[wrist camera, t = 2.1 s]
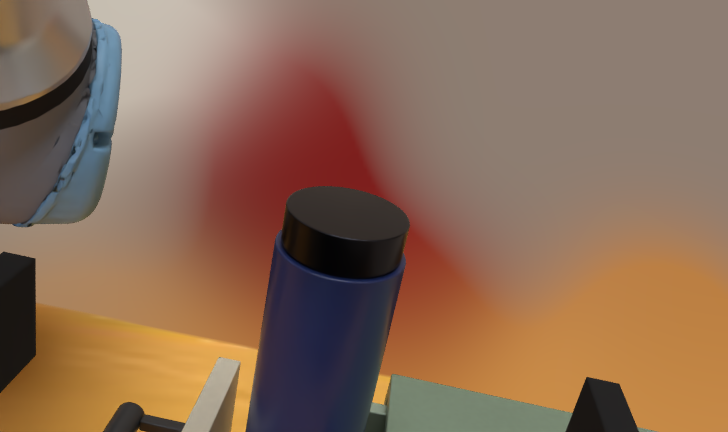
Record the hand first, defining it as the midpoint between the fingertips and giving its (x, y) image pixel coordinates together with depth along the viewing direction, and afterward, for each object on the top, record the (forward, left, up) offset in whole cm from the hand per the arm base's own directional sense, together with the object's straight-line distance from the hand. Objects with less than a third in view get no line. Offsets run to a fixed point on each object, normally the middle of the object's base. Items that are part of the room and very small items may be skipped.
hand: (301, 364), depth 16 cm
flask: (0, +11, -19) cm, 21 cm away
